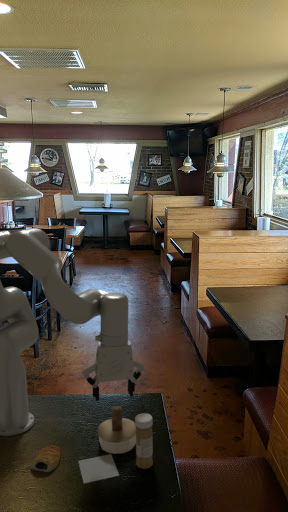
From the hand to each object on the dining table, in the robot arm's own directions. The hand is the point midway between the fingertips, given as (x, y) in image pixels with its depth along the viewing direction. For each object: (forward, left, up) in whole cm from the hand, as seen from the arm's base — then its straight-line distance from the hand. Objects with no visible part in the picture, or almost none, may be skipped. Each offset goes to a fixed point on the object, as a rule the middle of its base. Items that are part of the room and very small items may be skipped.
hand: (113, 396), depth 116 cm
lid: (+1, -1, -10) cm, 10 cm away
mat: (-7, -10, -14) cm, 18 cm away
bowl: (+1, 0, -14) cm, 14 cm away
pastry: (-19, -3, -15) cm, 24 cm away
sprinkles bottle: (+5, -12, -15) cm, 19 cm away
